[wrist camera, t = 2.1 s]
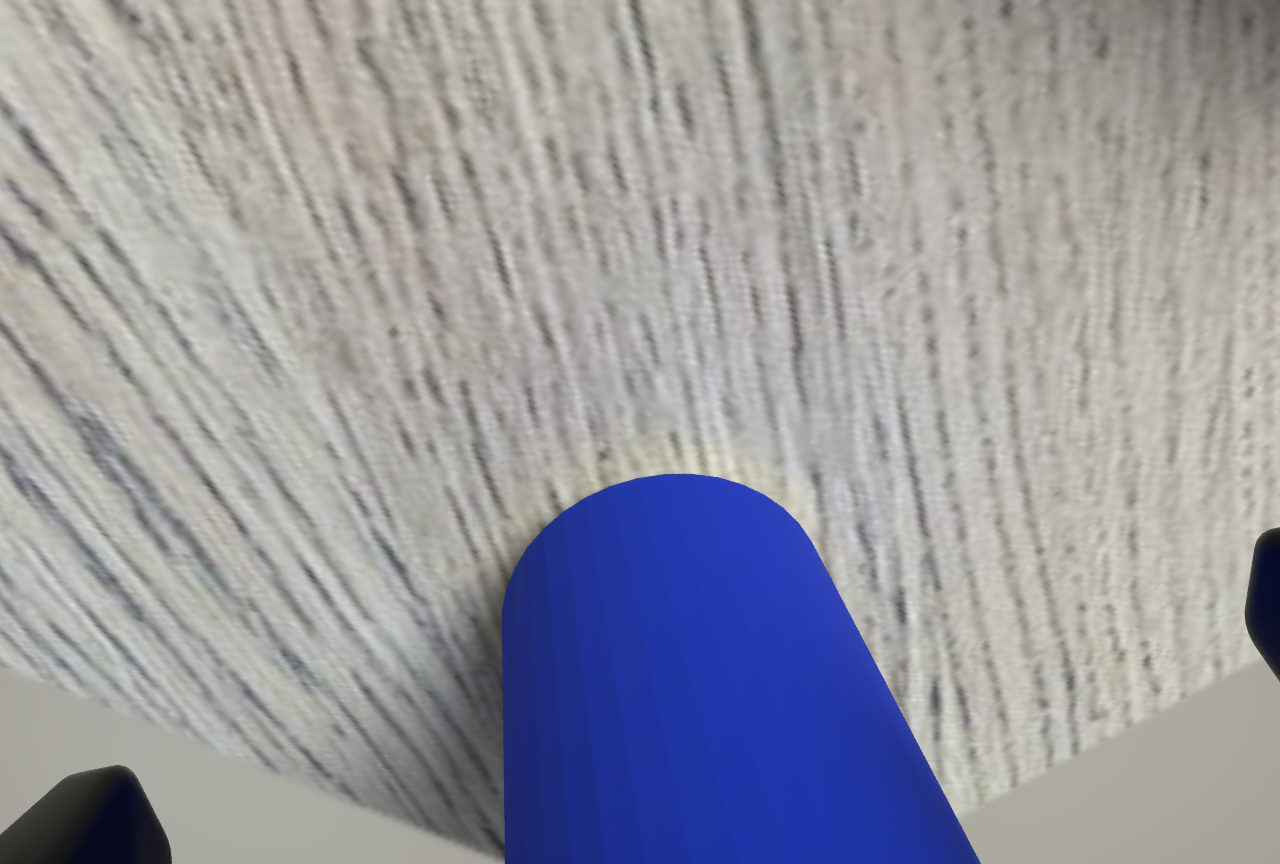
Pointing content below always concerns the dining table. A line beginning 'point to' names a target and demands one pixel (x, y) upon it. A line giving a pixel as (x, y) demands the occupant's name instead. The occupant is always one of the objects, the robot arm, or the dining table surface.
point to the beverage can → (701, 695)
